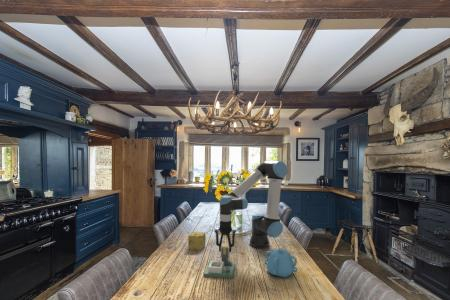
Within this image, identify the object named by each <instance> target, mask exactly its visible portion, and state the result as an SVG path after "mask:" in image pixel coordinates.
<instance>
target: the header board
mask: <svg viewBox="0 0 450 300" xmlns="http://www.w3.org/2000/svg"><path fill="white" fill-rule="evenodd" d="M235 267H236V261H229V260H228V261H221V260H215V259H212V260H211V259H209V262H208V263H207V267H205V270H204V272H203V277H207V278H208V277H209V278H220V279H221V278H222V279H233V276H234V272H235Z"/></svg>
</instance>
